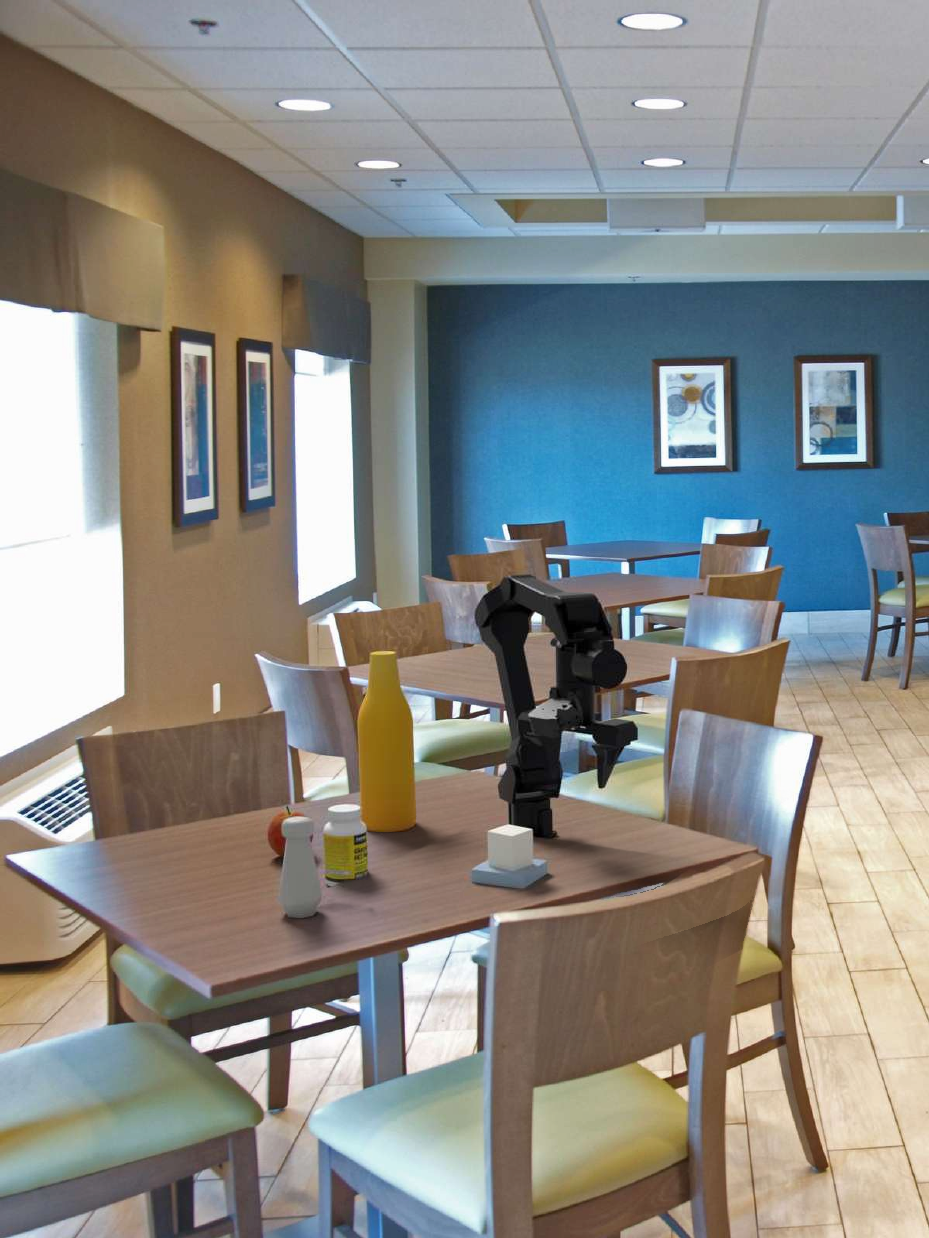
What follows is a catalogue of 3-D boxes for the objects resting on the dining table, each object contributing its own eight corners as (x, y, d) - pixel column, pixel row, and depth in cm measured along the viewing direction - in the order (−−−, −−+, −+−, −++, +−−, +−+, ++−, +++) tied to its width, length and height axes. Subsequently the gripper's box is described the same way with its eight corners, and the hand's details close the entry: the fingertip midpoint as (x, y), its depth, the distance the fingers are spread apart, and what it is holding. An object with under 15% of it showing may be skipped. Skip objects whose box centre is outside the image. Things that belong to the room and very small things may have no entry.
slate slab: (471, 883, 192) (471, 869, 191) (497, 867, 199) (496, 854, 198) (523, 890, 188) (523, 875, 188) (547, 874, 195) (547, 860, 195)
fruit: (322, 852, 213) (320, 802, 212) (298, 864, 207) (296, 813, 206) (284, 848, 216) (282, 798, 215) (259, 860, 210) (257, 809, 209)
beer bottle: (427, 822, 230) (422, 650, 227) (395, 835, 222) (389, 657, 219) (382, 816, 235) (376, 647, 232) (349, 828, 227) (343, 654, 224)
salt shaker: (280, 907, 187) (276, 813, 186) (322, 905, 188) (319, 811, 186) (278, 921, 181) (274, 824, 180) (322, 918, 182) (318, 822, 180)
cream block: (488, 865, 193) (487, 831, 192) (508, 858, 196) (508, 824, 196) (512, 871, 190) (511, 836, 189) (533, 863, 193) (532, 829, 193)
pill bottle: (362, 890, 194) (359, 813, 192) (319, 888, 195) (316, 812, 194) (373, 877, 200) (371, 802, 198) (332, 875, 201) (329, 802, 200)
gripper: (491, 680, 202) (493, 784, 204) (591, 693, 189) (592, 804, 191) (540, 671, 210) (542, 771, 212) (639, 682, 197) (640, 789, 199)
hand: (577, 783), depth 203 cm, fingers open, 9 cm apart
